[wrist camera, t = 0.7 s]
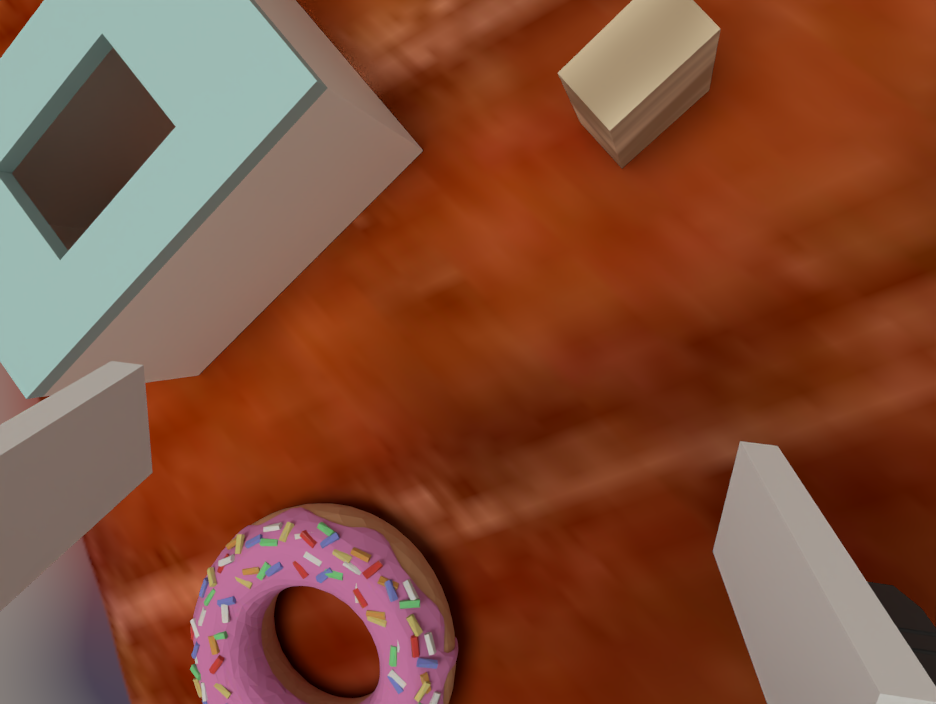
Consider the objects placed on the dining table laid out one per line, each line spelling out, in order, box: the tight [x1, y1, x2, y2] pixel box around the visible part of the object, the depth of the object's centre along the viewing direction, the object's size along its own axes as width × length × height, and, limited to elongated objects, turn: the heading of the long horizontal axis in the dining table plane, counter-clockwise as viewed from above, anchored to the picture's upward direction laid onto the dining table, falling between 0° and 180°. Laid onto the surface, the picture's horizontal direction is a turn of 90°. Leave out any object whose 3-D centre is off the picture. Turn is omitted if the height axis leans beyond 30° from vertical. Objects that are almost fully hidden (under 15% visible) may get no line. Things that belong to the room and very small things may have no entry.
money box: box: [0, 0, 423, 399], centre depth 33 cm, size 11×18×11 cm, turn 131°
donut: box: [190, 503, 458, 704], centre depth 35 cm, size 14×14×5 cm
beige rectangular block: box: [558, 0, 720, 168], centre depth 28 cm, size 3×5×7 cm, turn 131°
